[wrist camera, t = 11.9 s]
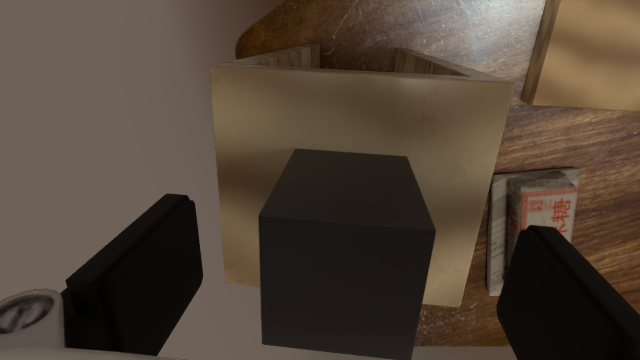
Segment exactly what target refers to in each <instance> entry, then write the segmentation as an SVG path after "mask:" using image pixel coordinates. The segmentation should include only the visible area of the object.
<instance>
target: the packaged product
mask: <svg viewBox="0 0 640 360" xmlns="http://www.w3.org/2000/svg"><path fill="white" fill-rule="evenodd" d="M579 174H580V168H564V169H553V170H541V171H529V172H519V173H509V174H499V175H492V180H491V201H490V212H489V222H488V234H487V289H488V292H489V296H499V295H500V293H501V290H502V287H503V283H504V280H505V277H506V274H507V271H508V267H509V264H510V261H511V258H512V254H513V251H514V248H515V245H516V242H517V238H518V235H519V233H520V231H521V230H523V229H525V230H526V228H527V227H528V226H529V225H539V226H550V227H555V228H556V229H557V230H558V231H559V232H560V233H561V234H562V235H563V236H564V237H565V238H566V239H567V240H568V241H569V242H570V243H571V240H572V233H573V226H574V219H575V211H576V206H577V197H578V181H579Z"/></svg>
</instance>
